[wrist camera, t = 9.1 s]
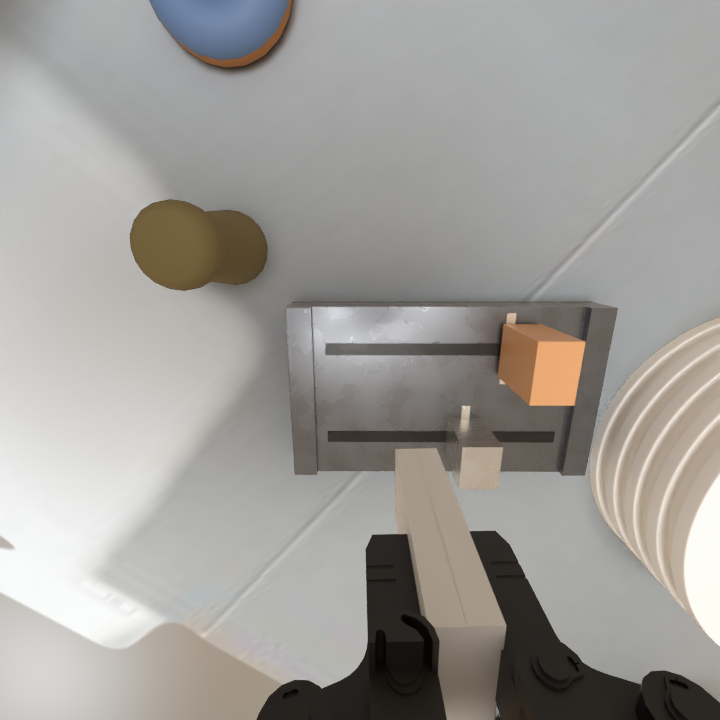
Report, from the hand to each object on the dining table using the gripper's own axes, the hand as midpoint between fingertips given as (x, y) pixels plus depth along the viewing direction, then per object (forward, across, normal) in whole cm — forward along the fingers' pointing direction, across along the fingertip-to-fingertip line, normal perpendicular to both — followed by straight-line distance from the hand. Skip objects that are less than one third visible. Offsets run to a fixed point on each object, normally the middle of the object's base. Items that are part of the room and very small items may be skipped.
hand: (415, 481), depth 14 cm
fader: (+17, +11, 0) cm, 20 cm away
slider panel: (+20, +5, -4) cm, 21 cm away
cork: (+21, -13, +9) cm, 26 cm away
